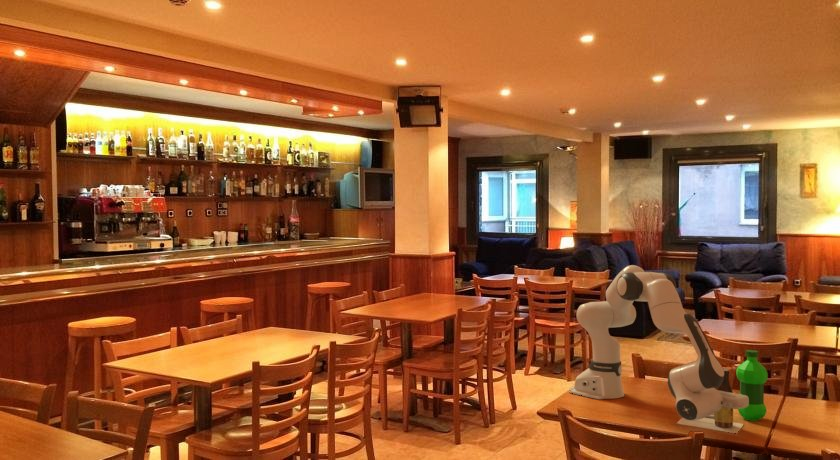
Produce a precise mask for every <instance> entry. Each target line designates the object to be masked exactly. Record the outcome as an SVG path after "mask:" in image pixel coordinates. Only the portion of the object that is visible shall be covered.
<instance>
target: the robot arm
mask: <svg viewBox="0 0 840 460" xmlns="http://www.w3.org/2000/svg"><path fill="white" fill-rule="evenodd" d="M605 299H606V300H603V301H590V302H586V303H582V304H580V305H579V306H578V308H577V311H576V320H577V322H578V325H580V326H581V328H583V329H585V331H586V332H587V333H588V335H589V337H590V340H591V347H592V358H591V359H590V360H588V362H586V365H587V366H588V368H587V369H585V370H584V371H582V372H581V373H580V374H578V375H577V376H576V378H575V380H574V384H573V386H571V387H570V388H569V390H571V391H569V390H568V392H570V393H569V394H572V393H573V395H578V396H581V395H582V396H583V397H587V398H591V399H595V400H605V399H606V400H607V399H619V398H623V397H624V396H625V392H624V388H623V384H622V361H621V343H620V342H619V340H618V339H617V338H616V337H614V336H612V335H611V334H610V333H609V329H610V328H622V327H626V326H629V325H632V324H633V323H635V320H636V318H637V311H636V307H635V306H634V305H633V303H634V301H635V302H646V303H647V304H648V309H649V312H650V316H651V319H652V320H651V321H652V322H653V324H654V326H655V327H656V328H657V329H658V330H660V331H662V332H665V333H669V334H685V335H686V336H687V337H688V339H689V340H690V342H691V343H690V344H691V345H692V347H693V349H694V351H695V353H696V354H697V355H696V356H697V357H696V359H695V360H694V361H691V362H687V363H685V364H682V365H679V366H676V367H673V368H671V369H670V371H669V372H668V375H667V387H668V389H669V390H670V391H669V392H670V393H671V395H672V396H673V397H674V399H675V409H676V412H677V414H678V415H679V416H680V417H681V418H684V419H687V420H691V421H694V420H699V419H702V418H706V417H707V416H708V415H711V414H714V413H715V412H718V411H719V410H720V409H721V408H722V407H727V408H732V409H733V410H738V409H742V408H745V407H748V405H749V398H748V396H746V395H742V394H741V393H740V392H736V393H734V392H733V393H730V392H725V391H720V390H717V389H715V387H719V386H720V385H721V383H722V382H723V379H724V376H725V372H724V369H725V368H723V366H722V364H721V362H720V361H719V359H718V357H717V356H716V355H715V353H714V351H713V349H712V347H711V344H710V343H709V341H708V339H707V337H706V334H705V333H704V331H703V329H702V326H701V325H700V324H699V322H698V320H697V319H696V318H695V316H694V315H692V314H690V313H687V312H686V311H685V309H684V307H683V303H682V301H681V298H680V296H679V293H678V291H677V283H676V280H675V278H674V277H673V276H672V275H671V274H668V273H665V272H653V271H645V270H644V269H643V268H642V267H640V266H638V265H635V264H631V265H626V267H624V268H622V270H620V272H619V273H618V274H616V276H615V277H614V278H613V280H612V282H611V283H610V285H609V286H608V287H607V289H606V291H605Z"/></svg>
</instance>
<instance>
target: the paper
mask: <svg viewBox="0 0 840 460" xmlns="http://www.w3.org/2000/svg"><path fill="white" fill-rule="evenodd" d="M676 425H680V426H687V427H693V428H699V429H703V430H704V429H706V430H710V431H711V430H712V431H717V432H723V433H728V432H729V433H728V434H734V433H736V434H735V435H737V434H738V433H739V432H740V430H742V428H743V427H744V425H745V424H744V423H740V422H734V421H733V426H732V427H728V428H727V427H719V426H716V425H715V420H714V419H712V418H706V417H705V418H702V419H699V420H694V421H691V420H687V419H684V418H683V417H681V418H680V419H679V421H677V422H676ZM738 431H739V432H738Z"/></svg>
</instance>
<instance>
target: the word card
mask: <svg viewBox="0 0 840 460" xmlns="http://www.w3.org/2000/svg"><path fill="white" fill-rule="evenodd" d="M705 418H709V419H714V413H713V414H711V415H708V416H707V417H705Z"/></svg>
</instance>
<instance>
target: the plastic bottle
mask: <svg viewBox="0 0 840 460" xmlns="http://www.w3.org/2000/svg"><path fill="white" fill-rule="evenodd" d="M745 356H746V360H745V361H743V362H742V363H740V364H739V365H738V366H737V367H736V373H735V374H736V377H737V380H739V393H741V394H742V395H746V396H748V398H749V405H748V407H745V408H742V409H737V411H738V414H739V415H740V417H742V419H743V418H744V420H746V421H749V420H750V421H751V422H758V420H759V421H760V420H761V419H763V418H764V417H765V416H766V415H767V407H766V405H765V402H764V399H765V398H764V395H765V394H764V392H765V391H764V389H765V385H764V384H765V383H767V380H768V376H769V375H768V374H769V373H768V371H767V368H765V366H764V365H762V364H761V363H760V362H759V360H758V358H759V351H758V350H754V349H746V350H745ZM757 360H758V361H757Z"/></svg>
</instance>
